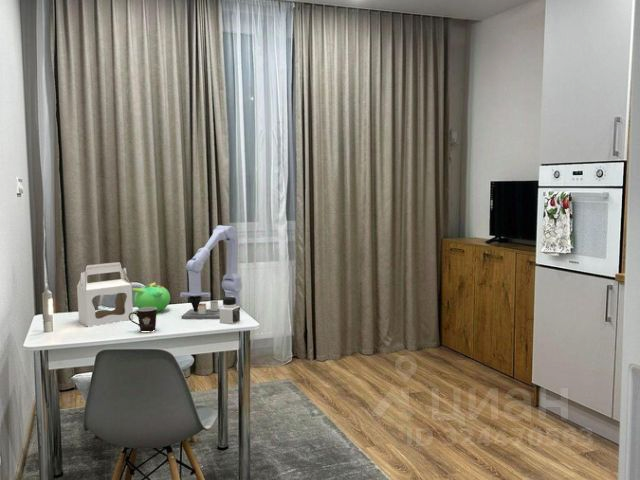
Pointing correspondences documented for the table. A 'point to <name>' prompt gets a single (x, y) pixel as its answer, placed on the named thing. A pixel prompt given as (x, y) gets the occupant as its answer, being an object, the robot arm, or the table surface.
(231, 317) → the medicine bottle
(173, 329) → the table surface
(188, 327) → the table surface
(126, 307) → the gable box
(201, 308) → the breaker
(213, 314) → the plate
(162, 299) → the green teapot
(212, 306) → the breaker
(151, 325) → the coffee mug
